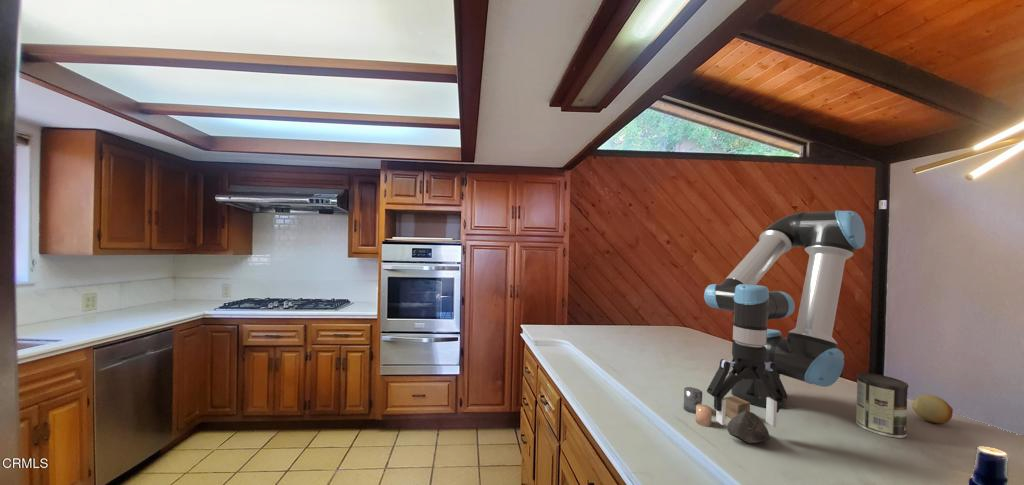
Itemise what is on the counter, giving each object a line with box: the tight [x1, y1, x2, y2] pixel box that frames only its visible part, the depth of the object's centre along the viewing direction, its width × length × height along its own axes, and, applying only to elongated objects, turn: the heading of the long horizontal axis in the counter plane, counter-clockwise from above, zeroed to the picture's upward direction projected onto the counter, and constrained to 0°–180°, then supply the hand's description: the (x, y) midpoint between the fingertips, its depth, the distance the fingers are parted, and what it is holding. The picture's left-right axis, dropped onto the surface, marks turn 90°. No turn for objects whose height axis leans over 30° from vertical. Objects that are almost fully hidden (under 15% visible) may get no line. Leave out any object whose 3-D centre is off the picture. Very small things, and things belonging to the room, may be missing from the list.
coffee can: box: [855, 372, 909, 439], centre depth 103 cm, size 10×10×14 cm
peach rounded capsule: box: [695, 403, 713, 428], centre depth 104 cm, size 4×4×4 cm
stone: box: [727, 411, 770, 444], centre depth 96 cm, size 10×8×10 cm
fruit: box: [911, 393, 954, 425], centre depth 108 cm, size 8×8×8 cm
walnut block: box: [724, 395, 751, 420], centre depth 108 cm, size 5×5×5 cm
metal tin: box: [683, 386, 703, 415], centre depth 112 cm, size 5×5×6 cm
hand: (745, 423), depth 96 cm, fingers open, 13 cm apart
